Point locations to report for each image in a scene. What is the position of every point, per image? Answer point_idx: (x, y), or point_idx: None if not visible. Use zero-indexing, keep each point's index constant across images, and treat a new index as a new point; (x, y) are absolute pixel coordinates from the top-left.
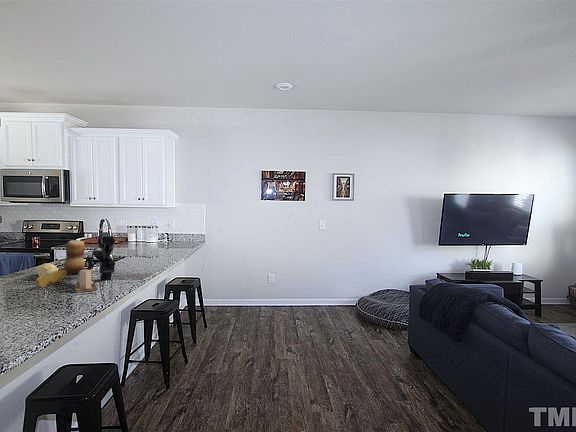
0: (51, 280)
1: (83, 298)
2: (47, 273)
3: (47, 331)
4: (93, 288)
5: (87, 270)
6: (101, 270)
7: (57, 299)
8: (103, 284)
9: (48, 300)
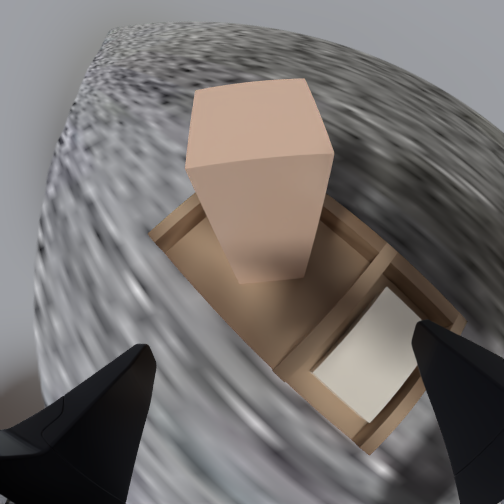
0: None
1: (163, 151)
2: None
3: (113, 46)
4: (161, 222)
5: (212, 117)
6: (108, 365)
7: None
8: (319, 495)
9: None
